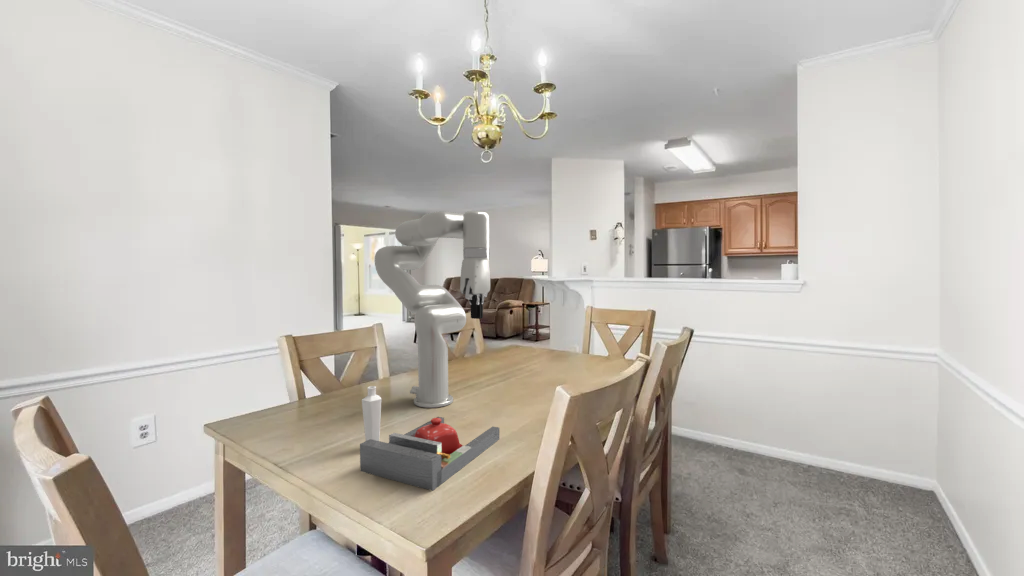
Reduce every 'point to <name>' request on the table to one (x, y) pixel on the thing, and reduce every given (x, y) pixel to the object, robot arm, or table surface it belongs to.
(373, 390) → the perfume bottle
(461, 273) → the robot arm
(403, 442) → the brushed metal plate
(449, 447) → the butter dish
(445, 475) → the grey open box
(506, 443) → the table surface
